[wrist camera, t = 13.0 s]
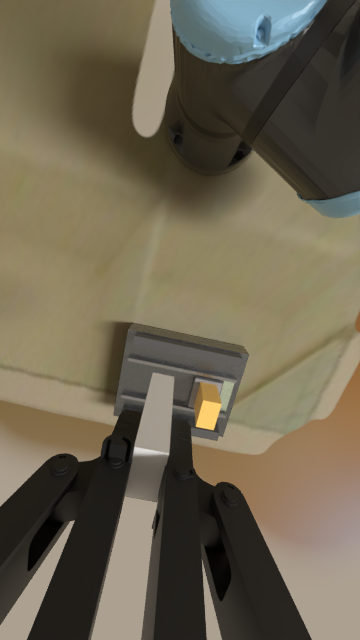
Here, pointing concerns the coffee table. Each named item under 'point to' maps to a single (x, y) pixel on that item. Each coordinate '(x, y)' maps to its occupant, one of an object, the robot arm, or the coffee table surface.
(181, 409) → the grey rail base
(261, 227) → the coffee table surface
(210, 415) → the handle
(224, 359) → the pair of guide rails
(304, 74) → the robot arm
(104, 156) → the coffee table surface
